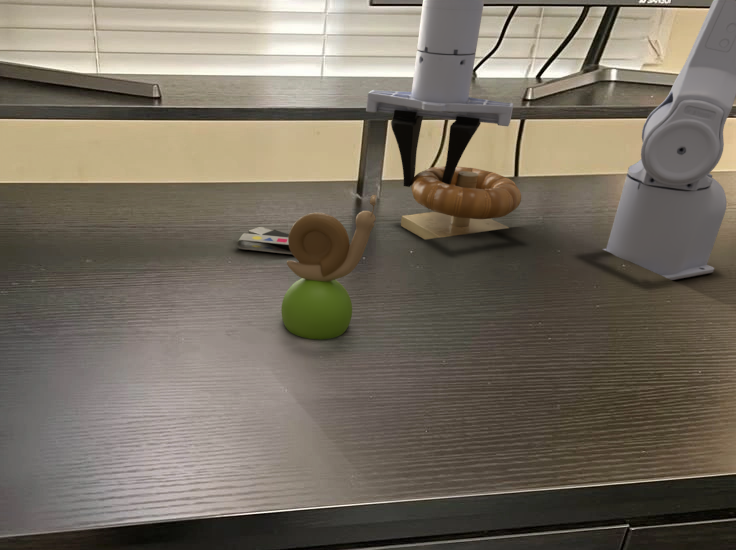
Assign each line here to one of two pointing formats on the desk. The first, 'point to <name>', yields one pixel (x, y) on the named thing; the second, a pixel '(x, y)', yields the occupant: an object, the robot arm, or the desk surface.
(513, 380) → the desk surface
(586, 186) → the desk surface
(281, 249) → the grey game box
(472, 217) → the ring
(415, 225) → the post
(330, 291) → the snail figurine
